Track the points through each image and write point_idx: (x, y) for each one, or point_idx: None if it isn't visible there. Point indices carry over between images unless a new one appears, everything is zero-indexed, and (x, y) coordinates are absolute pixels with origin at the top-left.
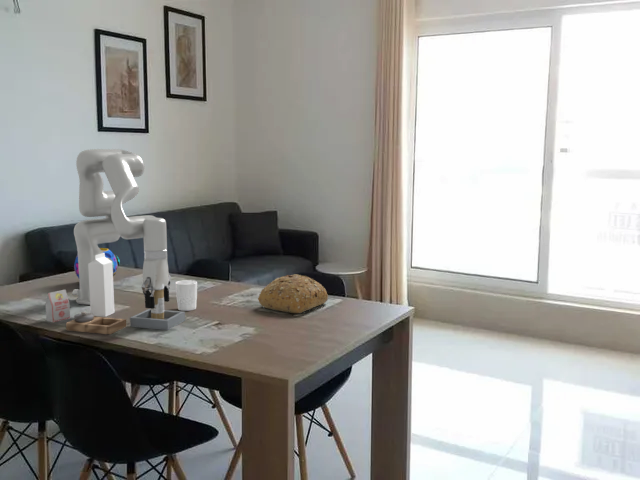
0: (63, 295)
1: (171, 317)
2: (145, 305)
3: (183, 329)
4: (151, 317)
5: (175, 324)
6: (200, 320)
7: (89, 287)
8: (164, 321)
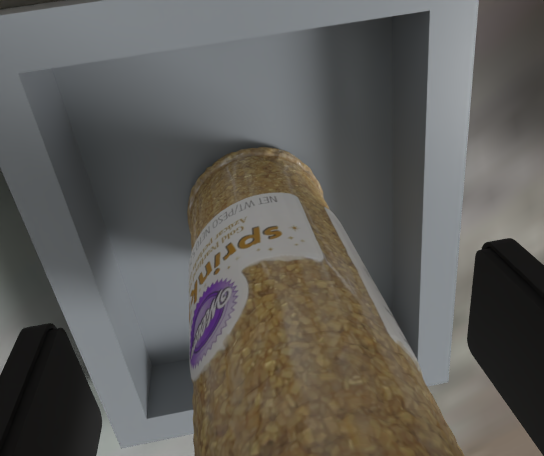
0: None
1: None
2: (14, 351)
3: None
4: (207, 193)
5: None
6: (446, 399)
7: None
8: (113, 418)
